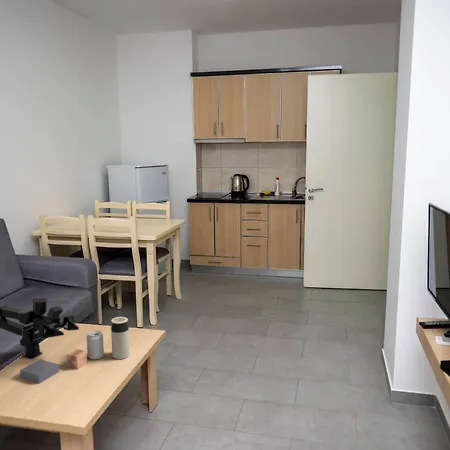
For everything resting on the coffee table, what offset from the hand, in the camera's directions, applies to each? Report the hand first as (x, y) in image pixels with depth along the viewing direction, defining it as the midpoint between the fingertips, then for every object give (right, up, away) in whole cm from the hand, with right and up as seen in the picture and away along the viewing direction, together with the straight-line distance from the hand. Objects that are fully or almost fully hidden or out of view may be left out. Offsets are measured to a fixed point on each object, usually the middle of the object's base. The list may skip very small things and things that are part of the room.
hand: (71, 331), depth 204 cm
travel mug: (+19, -15, +14) cm, 28 cm away
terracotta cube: (+1, -16, +4) cm, 17 cm away
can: (+8, -15, +12) cm, 21 cm away
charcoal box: (-12, -18, -4) cm, 22 cm away
